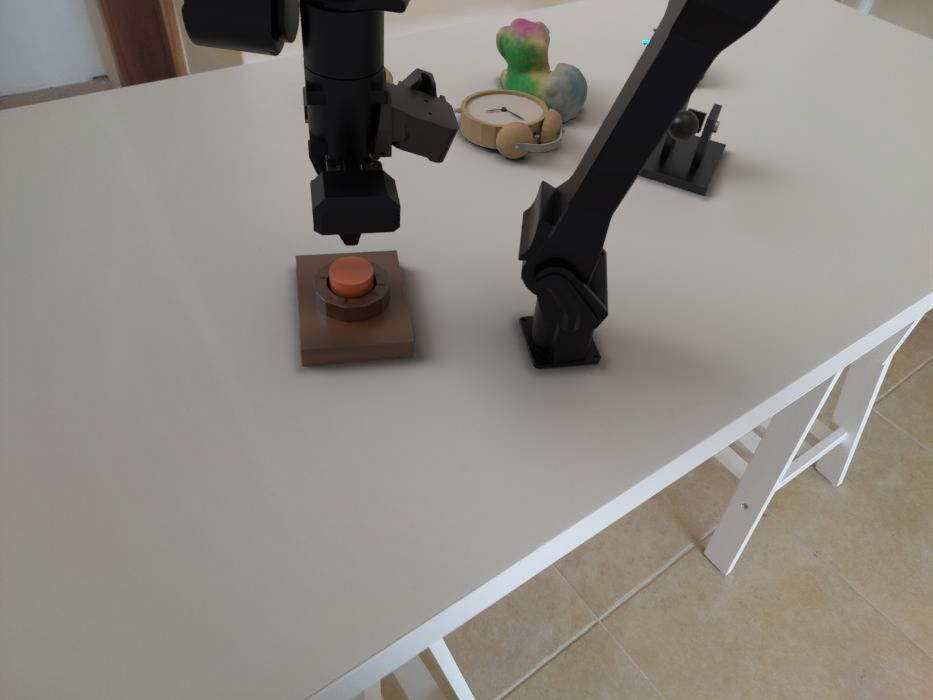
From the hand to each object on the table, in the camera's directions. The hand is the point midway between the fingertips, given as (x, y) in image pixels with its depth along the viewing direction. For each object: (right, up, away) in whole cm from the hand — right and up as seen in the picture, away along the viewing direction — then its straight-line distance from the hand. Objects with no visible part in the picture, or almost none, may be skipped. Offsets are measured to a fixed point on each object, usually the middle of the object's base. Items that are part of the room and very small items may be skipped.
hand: (350, 236), depth 64 cm
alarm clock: (+16, +17, +32) cm, 40 cm away
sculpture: (+20, +25, +40) cm, 51 cm away
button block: (-1, -6, +7) cm, 9 cm away
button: (-1, -4, +4) cm, 6 cm away
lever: (+35, +15, +21) cm, 44 cm away
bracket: (+38, +14, +31) cm, 51 cm away
